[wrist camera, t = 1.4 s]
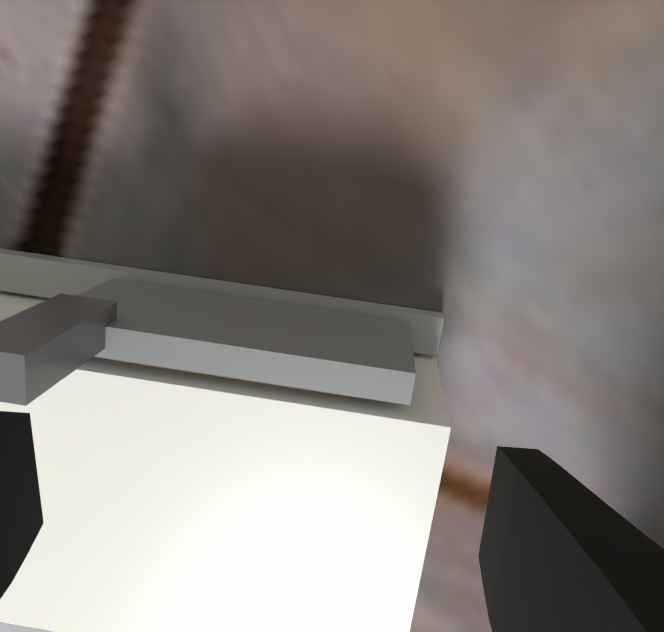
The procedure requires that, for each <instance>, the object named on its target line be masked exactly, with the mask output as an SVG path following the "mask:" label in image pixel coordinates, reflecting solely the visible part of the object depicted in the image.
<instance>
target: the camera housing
mask: <svg viewBox="0 0 664 632" xmlns="http://www.w3.org/2000/svg"><path fill="white" fill-rule="evenodd" d="M110 279H116V280H123V281H130V282H137V283H143V284H150V285H157V286H164V287H171V288H177V289H184V290H191V291H198V292H205V293H212V294H218V295H225V296H232V297H239V298H246V299H252V300H259V301H266V302H273V303H280V304H286V305H293V306H300V307H307V308H314V309H320V310H327V311H334V312H341V313H348V314H354V315H361V316H368V317H375V318H382V319H388V320H395V321H402V322H409V323H410V328H411V336H412V345H413V353H414V361H415V370H416V376H415V382H414V387H413V393H412V398H411V404H410V405H404V404H398V403H391V402H385V401H378V400H372V399H365V398H359V397H352V396H346V395H339V394H333V393H326V392H320V391H314V390H307V389H301V388H294V387H288V386H281V385H275V384H268V383H262V382H255V381H249V380H242V379H236V378H229V377H223V376H216V375H210V374H203V373H197V372H190V371H184V370H177V369H171V368H164V367H158V366H151V365H145V364H138V363H132V362H125V361H119V360H112V359H106V358H99V357H93V358H91V359H90V360H88V361H87V362H86V363H84V364H83V365H82V366H80V367H79V368H77V369H76V370H75V371H73V372H72V373H71V374H69V375H68V376H66V377H65V378H64V379H62V380H61V381H60V382H58V383H57V384H55V385H54V386H53V387H51V388H50V389H48V390H47V391H46V392H44V393H43V394H42V395H40V396H39V397H37V398H36V399H35V400H33V401H32V402H31V403H29V404H28V405H26V406H24V405H17V404H11V403H5V402H0V411H8V412H22V413H30V419H31V427H32V435H33V443H34V451H35V459H36V466H37V474H38V482H39V490H40V498H41V506H42V514H43V522H44V523H43V525H42V527H41V529H40V531H39V533H38V535H37V537H36V539H35V541H34V543H33V545H32V547H31V549H30V551H29V553H28V554H27V556H26V558H25V560H24V562H23V563H22V565H21V567H20V569H19V571H18V572H17V574H16V576H15V578H14V580H13V581H12V583H11V585H10V586H9V587H8V589H7V590H6V592H5V593H4V595H3V596H2V598H1V599H0V622H4V623H9V624H15V625H21V626H26V627H32V628H37V629H43V630H48V631H54V632H409V631H410V626H411V621H412V616H413V611H414V606H415V602H416V597H417V592H418V587H419V582H420V577H421V572H422V567H423V562H424V558H425V553H426V548H427V543H428V538H429V533H430V528H431V523H432V518H433V514H434V509H435V504H436V499H437V494H438V489H439V484H440V479H441V474H442V469H443V465H444V460H445V455H446V450H447V445H448V440H449V435H450V430H451V425H450V421H449V416H448V412H447V407H446V402H445V398H444V393H443V389H442V384H441V380H440V375H439V371H438V366H437V362H436V357H435V356H437V354H438V349H439V344H440V339H441V333H442V328H443V323H444V316H443V313H441V312H434V311H428V310H421V309H414V308H407V307H400V306H393V305H386V304H379V303H373V302H366V301H359V300H352V299H345V298H338V297H331V296H325V295H318V294H311V293H304V292H297V291H290V290H283V289H277V288H270V287H263V286H256V285H249V284H242V283H235V282H228V281H222V280H215V279H208V278H201V277H194V276H187V275H180V274H174V273H167V272H160V271H153V270H146V269H139V268H132V267H125V266H119V265H112V264H105V263H98V262H91V261H84V260H77V259H71V258H64V257H57V256H50V255H43V254H36V253H29V252H22V251H16V250H9V249H2V248H0V321H2V320H4V319H6V318H8V317H10V316H13V315H15V314H17V313H19V312H21V311H24V310H26V309H28V308H30V307H32V306H34V305H37V304H39V303H41V302H43V301H45V300H47V299H50V298H52V297H54V296H56V295H58V294H61V293H62V294H69V295H76V296H77V295H79V294H81V293H83V292H85V291H87V290H90V289H92V288H94V287H96V286H98V285H100V284H102V283H104V282H106V281H108V280H110Z"/></svg>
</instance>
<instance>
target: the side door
mask: <svg viewBox="0 0 664 632" xmlns="http://www.w3.org/2000/svg"><path fill="white" fill-rule="evenodd" d="M93 357H99V358H106V359H112V360H119V361H125V362H132V363H138V364H145V365H151V366H158V367H164V368H171V369H177V370H184V371H190V372H197V373H203V374H210V375H216V376H223V377H229V378H236V379H242V380H249V381H255V382H262V383H268V384H275V385H281V386H288V387H294V388H301V389H307V390H314V391H320V392H326V393H333V394H339V395H346V396H352V397H359V398H365V399H372V400H378V401H385V402H391V403H398V404H404V405H410V404H411V398H412V393H413V387H414V382H415V376H416V370H415V361H414V353H413V345H412V336H411V328H410V323H409V322H402V321H395V320H388V319H382V318H375V317H368V316H361V315H354V314H348V313H341V312H334V311H327V310H320V309H314V308H307V307H300V306H293V305H286V304H280V303H273V302H266V301H259V300H252V299H246V298H239V297H232V296H225V295H218V294H212V293H205V292H198V291H191V290H184V289H177V288H171V287H164V286H157V285H150V284H143V283H137V282H130V281H123V280H116V279H110V280H108V281H106V282H104V283H102V284H100V285H98V286H96V287H94V288H92V289H90V290H87V291H85V292H83V293H81V294H79V295H77V296H76V295H69V294H62V293H61V294H58V295H56V296H54V297H52V298H50V299H47V300H45V301H43V302H41V303H39V304H37V305H34V306H32V307H30V308H28V309H26V310H24V311H21V312H19V313H17V314H15V315H13V316H10V317H8V318H6V319H4V320H2V321H0V402H5V403H11V404H17V405H24V406H26V405H28V404H29V403H31V402H32V401H33V400H35V399H36V398H37V397H39V396H40V395H42V394H43V393H44V392H46V391H47V390H48V389H50V388H51V387H53V386H54V385H55V384H57V383H58V382H60V381H61V380H62V379H64V378H65V377H66V376H68V375H69V374H71V373H72V372H73V371H75V370H76V369H77V368H79V367H80V366H82V365H83V364H84V363H86V362H87V361H88V360H90V359H91V358H93Z"/></svg>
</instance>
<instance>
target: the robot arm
mask: <svg viewBox="0 0 664 632" xmlns="http://www.w3.org/2000/svg"><path fill="white" fill-rule="evenodd" d="M43 523H44V522H43V514H42V506H41V498H40V490H39V482H38V474H37V466H36V459H35V451H34V443H33V435H32V427H31V419H30V413H22V412H8V411H0V599H1V598H2V596H3V595H4V593H5V592H6V590H7V589H8V587H9V586H10V585H11V583H12V581H13V580H14V578H15V576H16V574H17V572H18V571H19V569H20V567H21V565H22V563H23V562H24V560H25V558H26V556H27V554H28V553H29V551H30V549H31V547H32V545H33V543H34V541H35V539H36V537H37V535H38V533H39V531H40V529H41V527H42V525H43ZM479 562H480V568H481V575H482V581H483V588H484V594H485V599H486V605H487V610H488V616H489V621H490V625H491V628H492V632H664V549H663V548H662V547H660V546H659V545H658V544H656V543H655V542H654V541H652V540H651V539H650V538H649V537H647V536H646V535H645V534H643V533H642V532H641V531H640V530H638V529H637V528H636V527H635V526H633V525H632V524H631V523H630V522H628V521H627V520H626V519H625V518H623V517H622V516H621V515H620V514H618V513H617V512H616V511H615V510H613V509H612V508H611V507H610V506H608V505H607V504H606V503H605V502H604V501H602V500H601V499H600V498H599V497H597V496H596V495H595V494H594V493H593V492H591V491H590V490H589V489H588V488H586V487H585V486H584V485H583V484H582V483H580V482H579V481H578V480H577V479H576V478H574V477H573V476H572V475H571V474H569V473H568V472H567V471H566V470H564V469H563V468H562V467H561V466H560V465H558V464H557V463H556V462H554V461H553V460H552V459H551V458H549V457H548V456H547V455H545V454H544V453H542V452H541V451H539V450H538V449H527V448H513V447H499V446H497V451H496V457H495V463H494V468H493V474H492V480H491V486H490V492H489V498H488V503H487V509H486V515H485V521H484V527H483V533H482V539H481V544H480V550H479Z"/></svg>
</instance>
